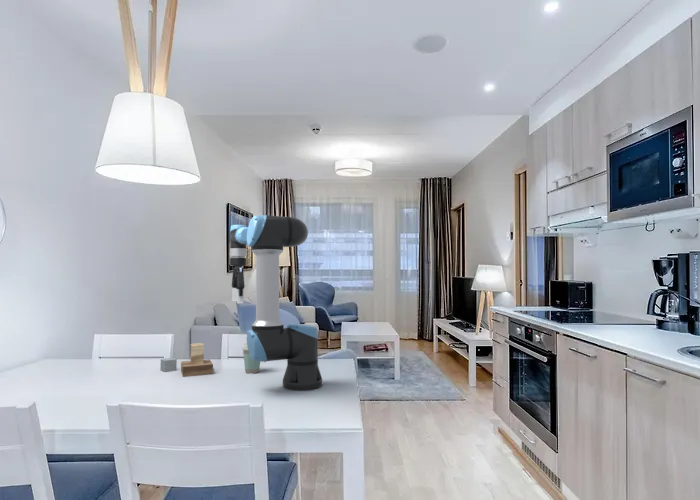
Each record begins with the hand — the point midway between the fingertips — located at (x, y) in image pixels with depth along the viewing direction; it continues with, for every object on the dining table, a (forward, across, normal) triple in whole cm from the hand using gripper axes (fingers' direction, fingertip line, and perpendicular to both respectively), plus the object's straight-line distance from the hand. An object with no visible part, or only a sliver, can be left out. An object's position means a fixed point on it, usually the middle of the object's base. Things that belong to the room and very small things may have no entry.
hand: (237, 302), depth 212 cm
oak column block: (+25, -11, +19) cm, 33 cm away
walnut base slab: (+29, -11, +19) cm, 36 cm away
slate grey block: (+29, -2, +30) cm, 42 cm away
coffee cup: (+29, -20, -3) cm, 35 cm away
